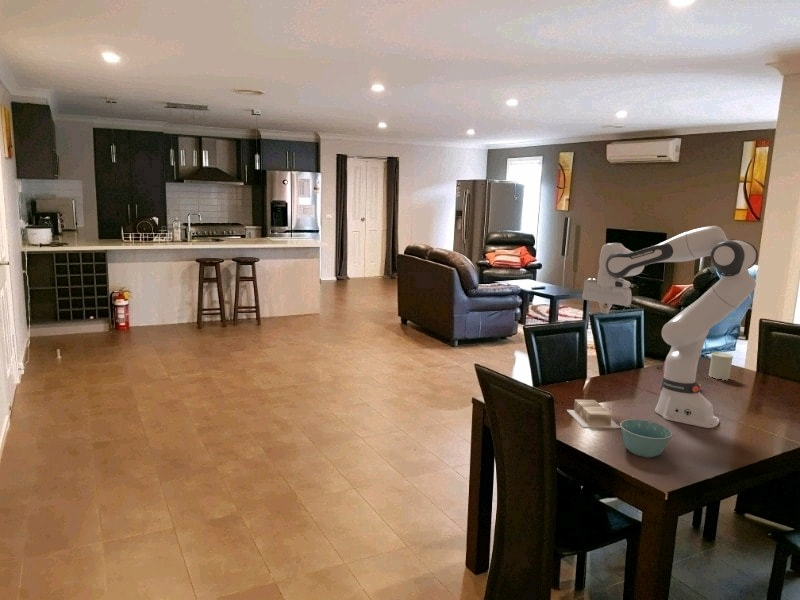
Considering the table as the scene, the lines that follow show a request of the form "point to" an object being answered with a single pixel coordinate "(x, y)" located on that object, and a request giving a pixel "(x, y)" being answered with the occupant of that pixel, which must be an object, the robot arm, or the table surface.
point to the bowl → (644, 437)
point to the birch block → (592, 412)
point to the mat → (586, 425)
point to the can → (720, 365)
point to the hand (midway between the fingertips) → (604, 313)
